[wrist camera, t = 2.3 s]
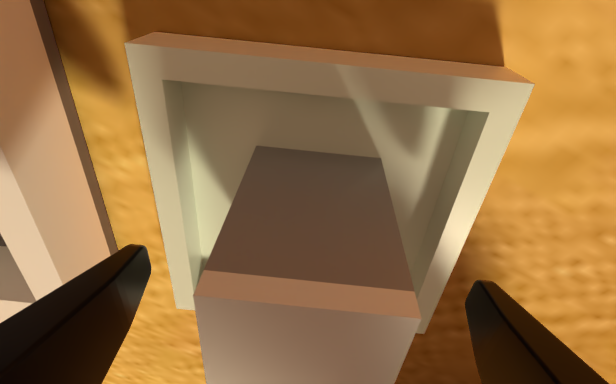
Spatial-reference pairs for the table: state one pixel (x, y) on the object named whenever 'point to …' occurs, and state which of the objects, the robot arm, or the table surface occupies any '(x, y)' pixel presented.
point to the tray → (319, 137)
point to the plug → (307, 276)
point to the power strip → (42, 167)
